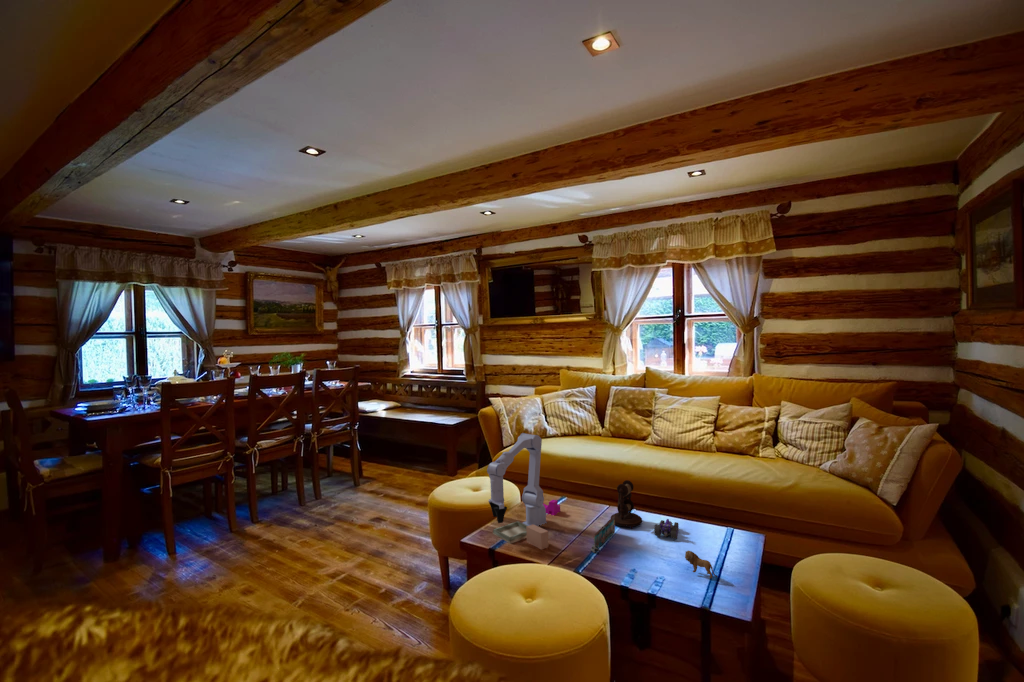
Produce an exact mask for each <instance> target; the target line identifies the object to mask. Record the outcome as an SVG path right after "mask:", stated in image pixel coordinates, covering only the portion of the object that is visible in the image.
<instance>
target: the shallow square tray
mask: <svg viewBox="0 0 1024 682" xmlns="http://www.w3.org/2000/svg"><path fill="white" fill-rule="evenodd" d="M526 527H527V525H525V524H523V522H520V521H519V520H517V521H515V522H511V523H509V524H506V525H503V526H500V527H497V528H496V527H495V528H494V529H492V534H493V535H495V536H496V537H497V538H499V539H501V540H503V541H504V542H506V543H508V544H510V545H511V544H514V543H516V542H520V541H521V540H525V539H527V532H526Z"/></svg>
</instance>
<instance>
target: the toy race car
mask: <svg viewBox="0 0 1024 682" xmlns="http://www.w3.org/2000/svg"><path fill="white" fill-rule="evenodd" d="M659 521H660V522H659V524H658V523H657V524H656V523H655V525H654V531H653V533H654V536H655V537H656V536H657V537H661V535H663V536H664V537H666V538H667V537H668V536H670V537H671V539H676V540H677V539H678V535H679V528H680V527H679V525H680V524H679V522H675V521H674V522H673V523H672V521H671V520H670V519H669V518H666V521H665V520H664V519H663V520H662V519H661V520H659Z"/></svg>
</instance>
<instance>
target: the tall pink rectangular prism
mask: <svg viewBox="0 0 1024 682" xmlns="http://www.w3.org/2000/svg"><path fill="white" fill-rule="evenodd" d="M526 532H527V538H526V543H528V544H530V545H532V546H534V547H536V548H538V549H540V550H544V549H547V548H549V531H548V530H546V529H544V528H542V527H541V526H536V525H534V524H532V525H530V526H527V527H526Z"/></svg>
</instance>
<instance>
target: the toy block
mask: <svg viewBox="0 0 1024 682" xmlns="http://www.w3.org/2000/svg"><path fill="white" fill-rule="evenodd" d="M543 505H544V506H545V509H546V513H548V514H547V515H549V514H551V515H550V516H553V515H554V516H557V515H558V514H559V513H561V504H558V500H556V499H552V500H550V501H549V502H548V504H546V503H544V502H543ZM558 512H559V513H558ZM557 513H558V514H557Z"/></svg>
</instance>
